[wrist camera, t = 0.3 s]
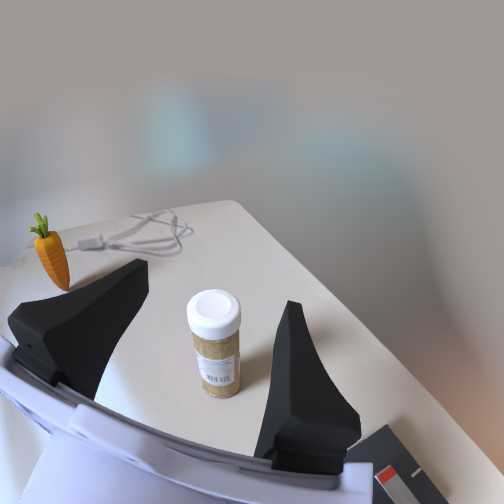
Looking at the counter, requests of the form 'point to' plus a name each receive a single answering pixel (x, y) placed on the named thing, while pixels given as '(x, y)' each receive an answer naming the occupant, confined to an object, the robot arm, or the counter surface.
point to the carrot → (51, 253)
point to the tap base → (395, 464)
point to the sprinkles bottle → (216, 340)
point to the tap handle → (390, 488)
